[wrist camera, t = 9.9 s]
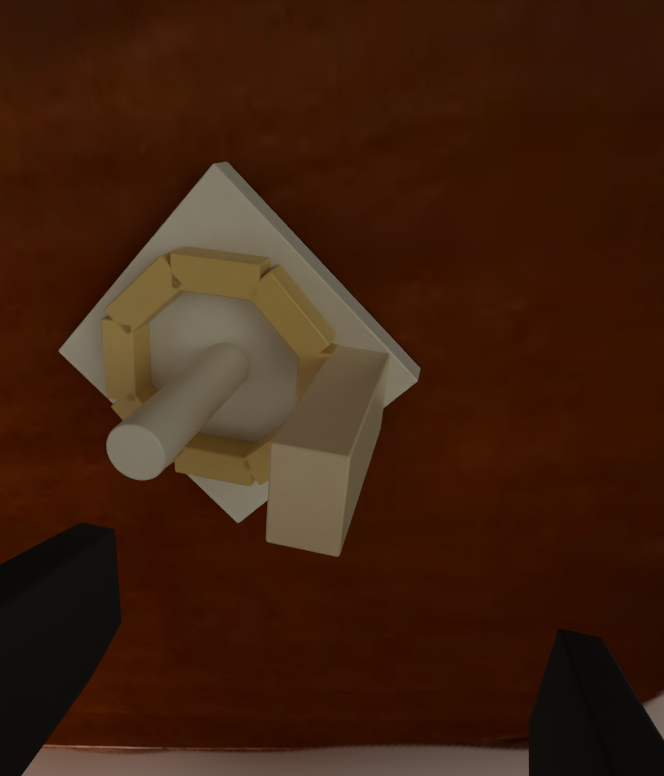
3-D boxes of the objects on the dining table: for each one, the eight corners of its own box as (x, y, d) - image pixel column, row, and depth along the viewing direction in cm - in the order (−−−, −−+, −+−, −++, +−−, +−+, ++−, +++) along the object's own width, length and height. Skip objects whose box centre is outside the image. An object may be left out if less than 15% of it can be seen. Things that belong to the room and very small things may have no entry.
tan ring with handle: (401, 274, 16) (362, 349, 11) (372, 492, 19) (330, 638, 14) (114, 236, 18) (-47, 285, 12) (126, 445, 20) (-1, 560, 15)
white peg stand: (421, 368, 18) (393, 483, 12) (247, 507, 22) (161, 650, 16) (227, 160, 17) (96, 179, 11) (75, 341, 20) (-87, 428, 15)
